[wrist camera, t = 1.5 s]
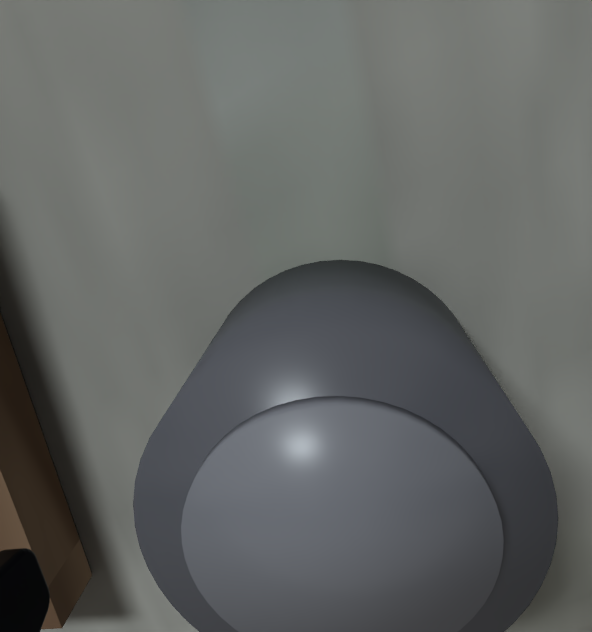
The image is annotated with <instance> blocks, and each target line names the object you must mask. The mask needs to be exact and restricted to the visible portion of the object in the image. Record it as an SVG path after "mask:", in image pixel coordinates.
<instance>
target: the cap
mask: <svg viewBox="0 0 592 632" xmlns="http://www.w3.org/2000/svg"><path fill="white" fill-rule="evenodd" d="M133 507H134V520H135V528H136V533H137V537H138V541H139V546H140V549H141V551H142V554H143V556H144V559H145V562H146V564H147V567H148V569H149V571H150V572H151V574H152V576H153V578H154V580H155V581H156V583H157V585H158V587H159V588H160V589H161V591H162V592H163V594H164V595H165V596H166V598H167V599H168V600H169V602H170V603H171V604H172V606H173V607H174V608H175V609H176V610H177V611H178V612H179V613H180V614H181V615H182V616H183V617H184V618H185V619H186V620H187V621H188V622H189V623H190V624H191V625H192V626H193V627H195V628H196V629H197V630H198V631H199V632H504V631H505V630H507V629H508V628H509V627H510V626H511V625H512V624H513V623H514V622H515V621H516V620H517V619H518V618H519V616H520V615H521V614H522V613H523V612H524V611H525V609H526V608H527V607H528V606H529V604H530V603H531V601H532V600H533V598H534V596H535V595H536V593H537V592H538V590H539V589H540V587H541V585H542V583H543V581H544V578H545V576H546V574H547V571H548V569H549V567H550V564H551V561H552V557H553V553H554V549H555V545H556V538H557V527H558V511H557V498H556V492H555V488H554V484H553V481H552V477H551V473H550V470H549V468H548V465H547V463H546V461H545V458H544V456H543V454H542V451H541V449H540V447H539V446H538V444H537V443H536V441H535V439H534V438H533V436H532V435H531V433H530V432H529V430H528V428H527V427H526V425H525V424H524V422H523V421H522V419H521V418H520V416H519V415H518V413H517V411H516V410H515V408H514V407H513V405H512V404H511V402H510V401H509V399H508V398H507V396H506V395H505V393H504V391H503V390H502V388H501V387H500V385H499V384H498V382H497V381H496V379H495V378H494V376H493V375H492V373H491V371H490V370H489V368H488V367H487V365H486V364H485V362H484V361H483V359H482V358H481V356H480V355H479V353H478V351H477V350H476V348H475V347H474V345H473V344H472V342H471V341H470V339H469V338H468V336H467V335H466V333H465V331H464V330H463V328H462V327H461V325H460V324H459V322H458V321H457V319H456V318H455V316H454V315H453V313H452V312H451V311H450V310H449V309H448V308H447V306H446V305H445V304H444V303H443V302H442V301H441V300H440V299H439V298H438V297H437V296H436V295H434V294H433V293H432V292H431V291H430V290H429V289H427V288H426V287H424V286H423V285H421V284H420V283H418V282H417V281H415V280H414V279H412V278H410V277H408V276H406V275H404V274H402V273H400V272H398V271H395V270H392V269H389V268H386V267H383V266H380V265H377V264H372V263H366V262H361V261H349V260H332V261H319V262H314V263H309V264H304V265H301V266H298V267H295V268H292V269H289V270H286V271H283V272H281V273H279V274H277V275H275V276H273V277H271V278H269V279H268V280H266V281H265V282H263V283H262V284H260V285H259V286H257V287H256V288H254V289H253V290H252V291H251V292H250V293H248V294H247V295H246V296H245V297H244V298H243V299H242V300H241V301H240V302H239V303H238V304H237V305H236V307H235V308H234V309H233V310H232V311H231V312H230V314H229V315H228V317H227V318H226V320H225V321H224V323H223V324H222V326H221V328H220V329H219V331H218V332H217V334H216V335H215V337H214V338H213V340H212V342H211V343H210V345H209V346H208V348H207V349H206V351H205V352H204V354H203V355H202V357H201V359H200V360H199V362H198V363H197V365H196V366H195V368H194V369H193V371H192V373H191V374H190V376H189V377H188V379H187V380H186V382H185V383H184V385H183V386H182V388H181V390H180V391H179V393H178V394H177V396H176V397H175V399H174V400H173V402H172V404H171V405H170V407H169V408H168V410H167V411H166V413H165V414H164V416H163V418H162V419H161V421H160V422H159V424H158V426H157V427H156V429H155V430H154V432H153V434H152V435H151V437H150V438H149V441H148V443H147V445H146V448H145V450H144V453H143V455H142V457H141V460H140V464H139V468H138V472H137V476H136V480H135V489H134V501H133Z"/></svg>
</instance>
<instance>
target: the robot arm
mask: <svg viewBox="0 0 592 632" xmlns="http://www.w3.org/2000/svg"><path fill="white" fill-rule="evenodd" d="M49 603H50V592H49V588H48V586H47V583H46V581H45V578H44V575H43V573H42V570H41V568H40V565H39V563H38V560H37V558H36V555H35V553H34V552H32V551H31V550H30V549H27V548H20V549H6V550H2V551H0V632H40V630H41V628H42V625H43V622H44V620H45V617H46V614H47V612H48V608H49Z"/></svg>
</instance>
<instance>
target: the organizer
mask: <svg viewBox="0 0 592 632" xmlns="http://www.w3.org/2000/svg"><path fill="white" fill-rule="evenodd" d="M20 548H27V549H30V550H31V551H32V552H34V553H35V555H36V558H37V560H38V563H39V565H40V568H41V570H42V573H43V575H44V578H45V581H46V583H47V586H48V588H49V592H50V603H49V608H48V612H47V614H46V617H45V620H44V622H43V625H42V628H41V629H54V628H62V627H63V625H64V624H65V622H66V620H67V618H68V617H69V615H70V613H71V611H72V610H73V608H74V606H75V604H76V603H77V601H78V599H79V597H80V596H81V594H82V592H83V590H84V589H85V587H86V585H87V584H88V582H89V580H90V578H91V577H92V573H91V570H90V567H89V564H88V561H87V559H86V556H85V553H84V550H83V547H82V544H81V541H80V539H79V536H78V533H77V530H76V527H75V524H74V521H73V519H72V516H71V513H70V510H69V507H68V504H67V502H66V499H65V496H64V493H63V490H62V487H61V484H60V482H59V479H58V476H57V473H56V470H55V467H54V464H53V462H52V459H51V456H50V453H49V450H48V447H47V445H46V442H45V439H44V436H43V433H42V430H41V427H40V425H39V422H38V419H37V416H36V413H35V410H34V407H33V405H32V402H31V399H30V396H29V393H28V390H27V388H26V385H25V382H24V379H23V376H22V373H21V370H20V368H19V365H18V362H17V359H16V356H15V353H14V350H13V348H12V345H11V342H10V339H9V336H8V333H7V331H6V328H5V325H4V322H3V319H2V316H1V313H0V551H2V550H6V549H20Z"/></svg>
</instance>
